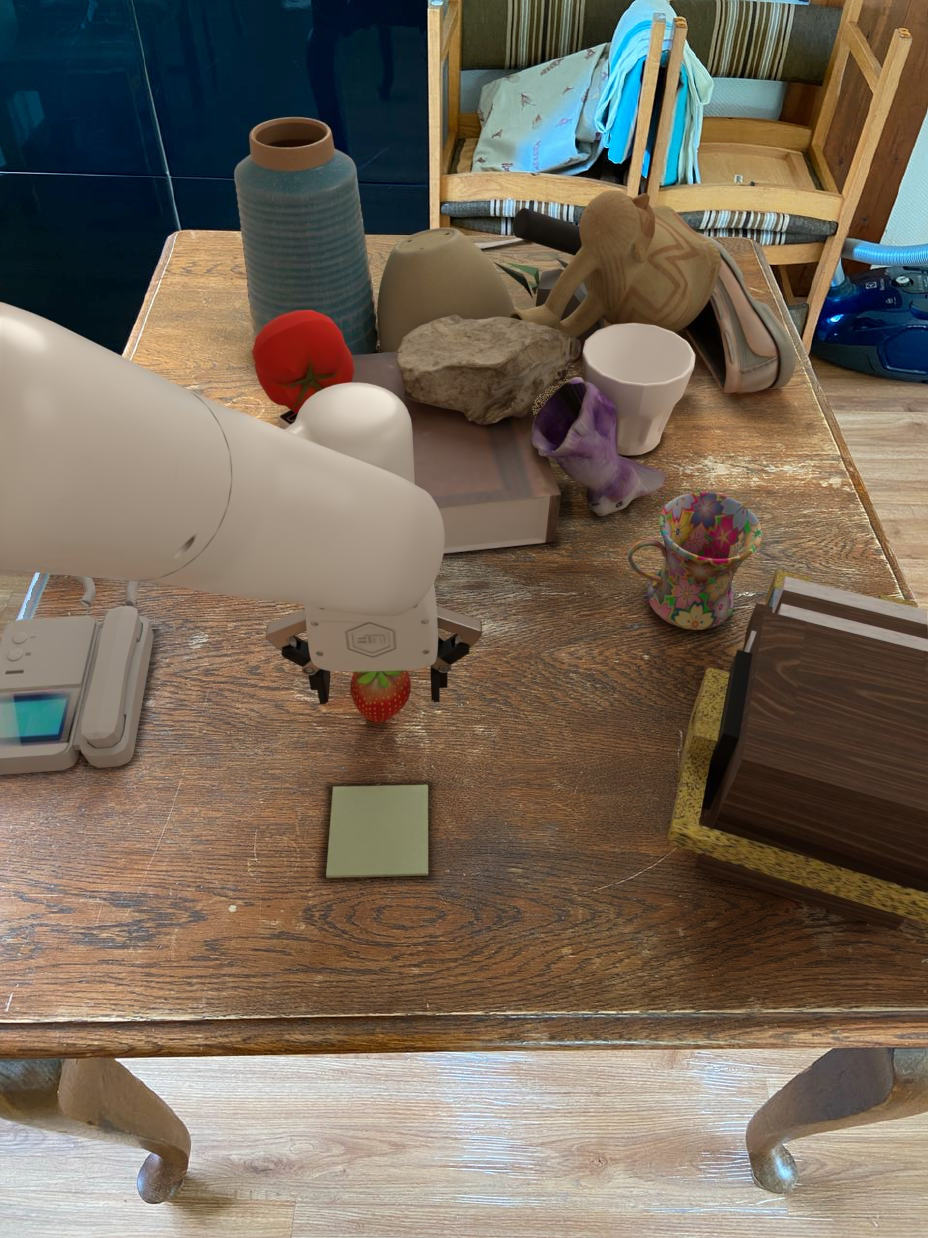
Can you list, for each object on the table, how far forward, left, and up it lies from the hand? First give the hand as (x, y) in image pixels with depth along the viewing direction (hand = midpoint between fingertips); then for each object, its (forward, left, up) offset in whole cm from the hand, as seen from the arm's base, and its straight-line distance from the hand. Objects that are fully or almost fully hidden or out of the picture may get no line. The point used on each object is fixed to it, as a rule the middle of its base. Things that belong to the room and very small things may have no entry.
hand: (380, 689), depth 78 cm
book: (+34, -4, -4) cm, 35 cm away
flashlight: (+75, -27, +5) cm, 79 cm away
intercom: (+20, +29, -1) cm, 36 cm away
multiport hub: (+29, +5, +3) cm, 29 cm away
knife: (+86, -16, -3) cm, 88 cm away
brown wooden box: (+8, -42, +3) cm, 42 cm away
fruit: (0, 0, -4) cm, 4 cm away
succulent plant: (+67, -21, -4) cm, 71 cm away
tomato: (+37, +10, +12) cm, 40 cm away
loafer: (+61, -45, +2) cm, 76 cm away
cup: (+40, -28, -4) cm, 49 cm away
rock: (+42, -2, +2) cm, 42 cm away
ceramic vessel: (+62, -36, +4) cm, 72 cm away
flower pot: (+61, -4, +11) cm, 62 cm away
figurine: (+30, -17, +6) cm, 35 cm away
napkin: (-11, 0, -4) cm, 12 cm away
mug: (+13, -29, -4) cm, 32 cm away
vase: (+60, +10, -4) cm, 61 cm away
